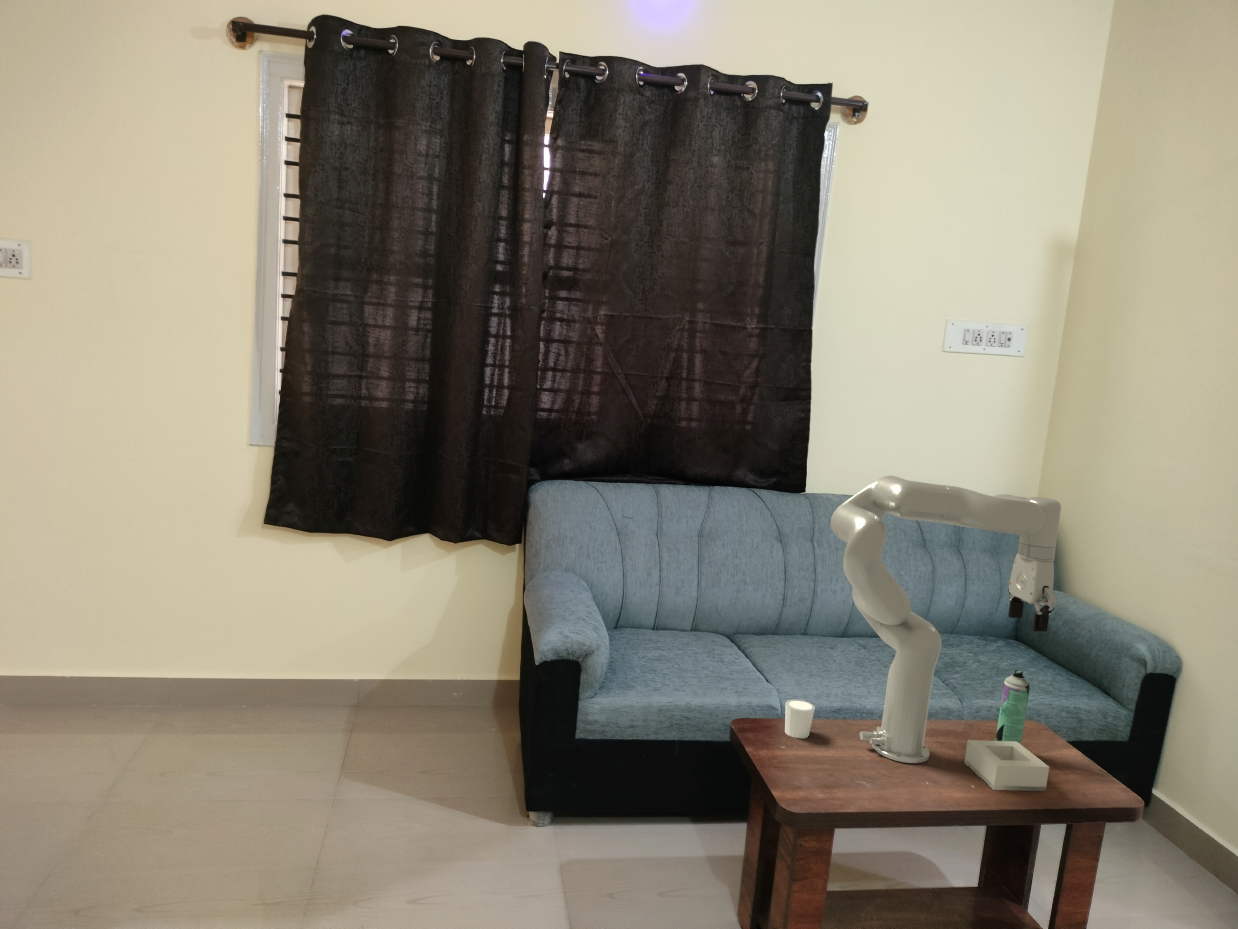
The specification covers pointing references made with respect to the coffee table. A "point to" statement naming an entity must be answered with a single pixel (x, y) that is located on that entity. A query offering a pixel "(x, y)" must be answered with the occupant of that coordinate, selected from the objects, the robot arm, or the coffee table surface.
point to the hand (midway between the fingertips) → (1027, 624)
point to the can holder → (1006, 765)
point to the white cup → (798, 718)
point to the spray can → (1013, 708)
